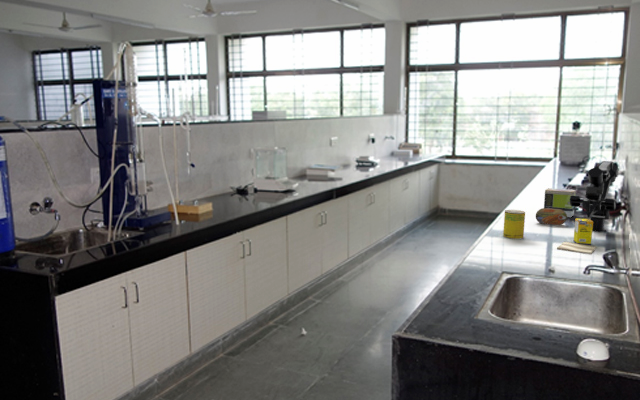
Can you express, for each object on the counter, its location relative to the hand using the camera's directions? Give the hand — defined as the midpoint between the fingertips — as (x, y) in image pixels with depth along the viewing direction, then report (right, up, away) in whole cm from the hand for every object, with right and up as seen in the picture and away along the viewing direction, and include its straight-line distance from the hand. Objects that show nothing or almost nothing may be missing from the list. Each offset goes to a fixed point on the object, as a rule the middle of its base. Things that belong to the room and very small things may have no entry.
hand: (588, 217), depth 238 cm
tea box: (+13, -1, +58) cm, 60 cm away
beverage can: (-32, -10, +7) cm, 34 cm away
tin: (-2, -5, +35) cm, 35 cm away
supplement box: (-6, -12, -5) cm, 14 cm away
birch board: (-12, -13, -14) cm, 22 cm away
